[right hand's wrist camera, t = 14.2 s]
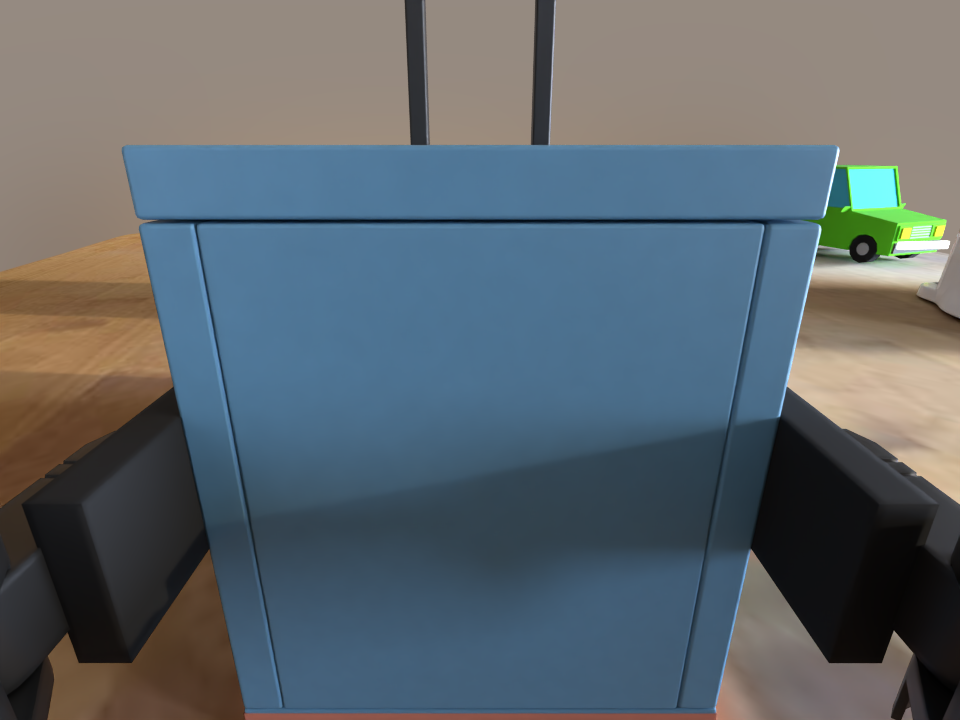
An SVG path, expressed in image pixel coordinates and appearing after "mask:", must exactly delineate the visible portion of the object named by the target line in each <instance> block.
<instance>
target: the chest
mask: <svg viewBox="0 0 960 720" xmlns="http://www.w3.org/2000/svg"><path fill="white" fill-rule="evenodd" d="M139 231H140V236H141V241H142V245H143V250H144V254H145V259H146V263H147V268H148V272H149V277H150V281H151V286H152V290H153V295H154V300H155V304H156V309H157V313H158V318H159V322H160V327H161V331H162V336H163V340H164V345H165V349H166V354H167V358H168V363H169V368H170V372H171V377H172V381H173V386H174V390H175V395H176V399H177V404H178V408H179V413H180V417H181V422H182V426H183V431H184V435H185V440H186V445H187V449H188V454H189V458H190V463H191V467H192V472H193V476H194V481H195V485H196V490H197V494H198V499H199V503H200V508H201V513H202V517H203V522H204V526H205V531H206V535H207V540H208V544H209V549H210V553H211V558H212V562H213V567H214V571H215V576H216V581H217V585H218V590H219V594H220V599H221V603H222V608H223V612H224V617H225V621H226V626H227V630H228V635H229V639H230V644H231V648H232V653H233V658H234V662H235V667H236V671H237V676H238V680H239V685H240V689H241V694H242V698H243V703H244V707H245V712H244V717H245V720H716V716H717V713H716V708H715V706H716V704H717V700H718V695H719V691H720V686H721V682H722V677H723V673H724V668H725V663H726V659H727V654H728V650H729V645H730V641H731V636H732V632H733V627H734V623H735V618H736V614H737V609H738V605H739V600H740V596H741V591H742V587H743V582H744V578H745V573H746V568H747V564H748V559H749V555H750V550H751V546H752V541H753V537H754V532H755V528H756V523H757V519H758V514H759V510H760V505H761V501H762V496H763V492H764V487H765V483H766V478H767V473H768V469H769V464H770V460H771V455H772V451H773V446H774V442H775V437H776V433H777V428H778V424H779V419H780V415H781V410H782V406H783V401H784V397H785V392H786V388H787V383H788V378H789V374H790V369H791V365H792V360H793V356H794V351H795V347H796V342H797V338H798V333H799V329H800V324H801V320H802V315H803V311H804V306H805V302H806V297H807V293H808V288H809V283H810V279H811V274H812V270H813V265H814V261H815V256H816V252H817V247H818V243H819V238H820V234H821V226H820V225H818V224H816V223H813V222H808V221H803V220H157V221H152V222H147V223H143V224H141V225H140V226H139Z"/></svg>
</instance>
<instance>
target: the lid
mask: <svg viewBox="0 0 960 720" xmlns="http://www.w3.org/2000/svg"><path fill="white" fill-rule="evenodd" d="M555 11H556V0H535V31H534V64H533V96H532V127H531V145H430V140H429V108H428V75H427V43H426V11H425V0H405V19H406V43H407V66H408V90H409V114H410V137H411V145H126V146H124V147H122V154H123V159H124V164H125V168H126V173H127V177H128V182H129V186H130V191H131V195H132V200H133V205H134V209H135V214H136V216H137V218H140V219H143V220H819V219H821V218H824V216H825V213H826V209H827V204H828V200H829V195H830V191H831V186H832V182H833V177H834V173H835V168H836V164H837V159H838V155H839V147H837V146H835V145H550V128H551V104H552V81H553V58H554V34H555Z"/></svg>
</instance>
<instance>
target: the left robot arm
mask: <svg viewBox="0 0 960 720" xmlns="http://www.w3.org/2000/svg"><path fill="white" fill-rule="evenodd" d="M949 243H950V242H949V241H917V242H898V244H897V248H896V249H899V250H902V249H946V248H948V246H949ZM916 295H917V296H919V297H921V298H924V299H927V300H929V301H932V302H934V303H936V304H937V305H938V306H939V308H940V309H942V310H943V311H945V312H946V313H948V314H950V315H953V316H955V317H958V318H960V230H959V232H958V235H957V237H956V240H955V242H954V245H953V247H952V250H951V252H950V255H949V257H948V260H947V263H946V265H945V268H944V270H943V273H942V275H941V278H940V280H939V282H933V283H923V284H921V285H920V287H919V290H918V292H917V294H916Z"/></svg>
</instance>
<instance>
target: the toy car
mask: <svg viewBox="0 0 960 720" xmlns="http://www.w3.org/2000/svg"><path fill="white" fill-rule="evenodd" d="M905 205H906V204H901V199H900V189H899V179H898V169H897V166H865V165H836V168H835V173H834V177H833V182H832V186H831V191H830V195H829V200H828V204H827V209H826V213H825V216H824V218H821V219H819V220H803V221H808V222H813V223H816V224H818V225H820V226H821V234H820V238H819V243H818V245H822V246H828V247H834V248H840V249H846V250H850V255H851V257H852V258H853V260H855V261H857V262H859V263H860V262H871V261H874V260H876V259H877V258H879V256H880V255H885V256H896V257H898V258H900V259H902V258H913V257H915V256H917V255H918V254H920V253H926V252H936V251H937V249H902V250H899V249H896V248H897V244H898V242H917V241H941V240H940V238H942V235H943V232H944V228H945V225H946V220H944V219H940V218H936V217H932V216H928V215H925V214H921V213H917V212H913V211H909V210H905V209H902V208H903V207H904V206H905Z"/></svg>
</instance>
